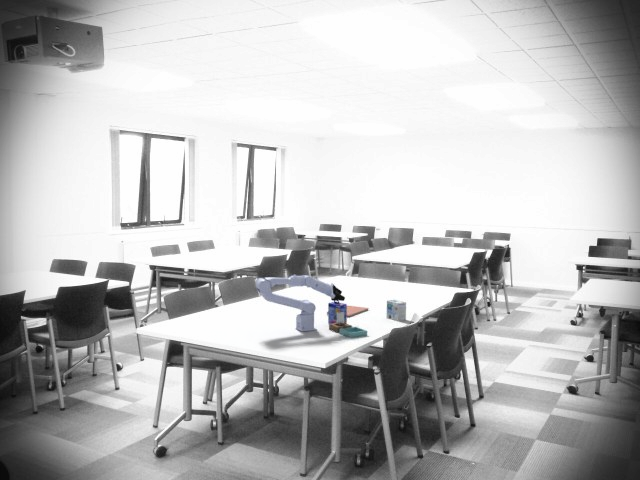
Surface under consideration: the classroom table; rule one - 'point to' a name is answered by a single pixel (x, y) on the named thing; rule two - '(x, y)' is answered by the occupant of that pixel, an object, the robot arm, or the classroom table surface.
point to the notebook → (354, 310)
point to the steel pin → (340, 318)
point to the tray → (353, 332)
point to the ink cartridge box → (335, 308)
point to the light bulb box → (396, 310)
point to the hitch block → (338, 327)
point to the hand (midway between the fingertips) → (342, 296)
